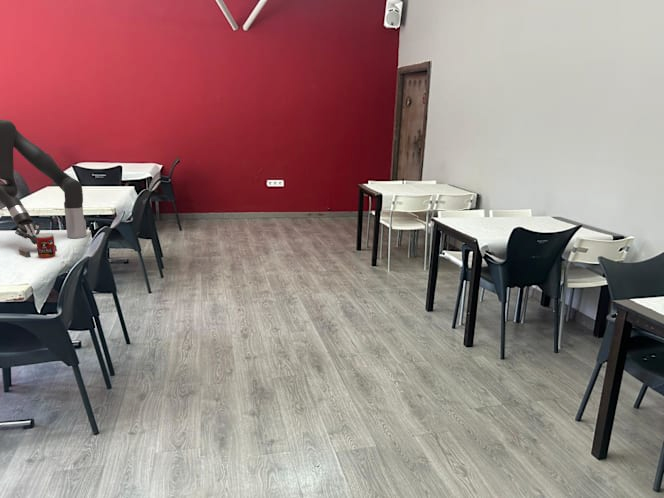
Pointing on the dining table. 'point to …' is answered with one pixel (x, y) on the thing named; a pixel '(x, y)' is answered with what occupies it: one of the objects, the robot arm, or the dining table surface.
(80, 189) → the robot arm
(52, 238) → the canned food
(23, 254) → the channel walls
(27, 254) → the posts
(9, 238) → the dining table surface
